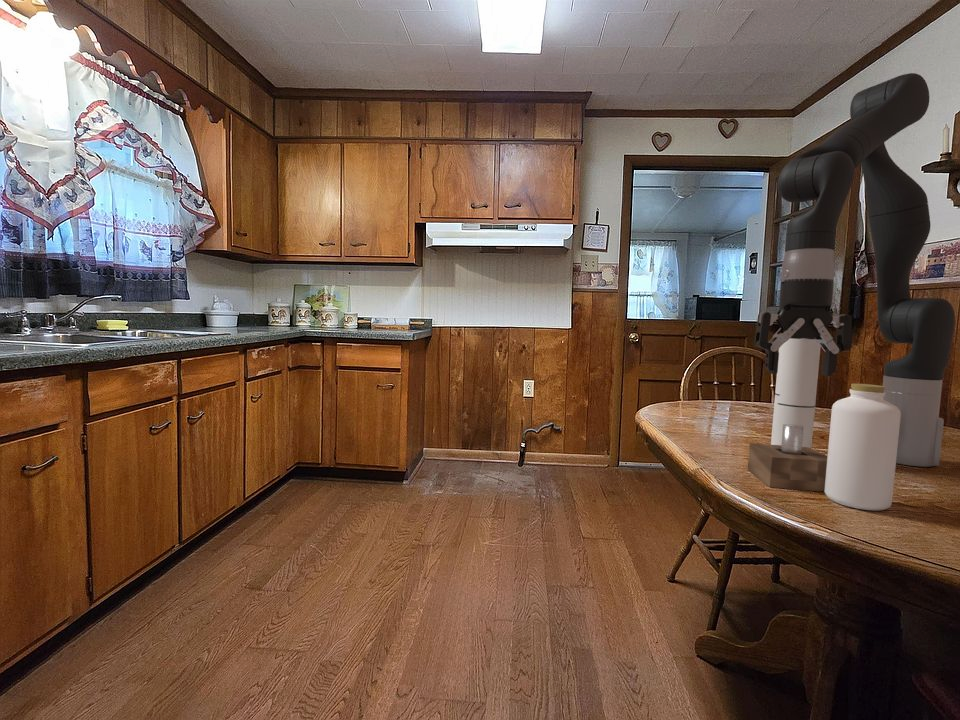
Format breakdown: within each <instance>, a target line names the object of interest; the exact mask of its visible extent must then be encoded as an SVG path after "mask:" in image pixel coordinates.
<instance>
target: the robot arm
mask: <svg viewBox="0 0 960 720" xmlns="http://www.w3.org/2000/svg"><path fill="white" fill-rule="evenodd" d="M929 105H930V91H929V87H928V84H927V82H926V80H925V78H924V77H923V76H922V75H921V74H918V73H913V72H909V73H904V74H901V75H898V76H895V77H893V78H890V79H888V80H885V81H883V82H879V83H878V84H876V85H875V84H874V85H872V86H870V87H867V88H865V89H862V90H860V91H858V92H857V93H855V94H854V96H853V97H852V99H851V102H850V108H849V115H850V116H849V117H850V121H849V122H847V123H845V124H844V125H842V126H840V127H839V128H837V129H836V130H835V131H834V132H833V133H831V134H830V135H829V136H828V137H827V138H826V139H824V141H823V142H821V143H820V144H819V145H817V146H815V147H812V148H810V149H809V150H807V151H804V152H803V153H801V154H799V155H797V156H796V157H794V158H792V159H791V160H789V161H788V163H786V164H785V165H784V167H783V168H782V169H781V171H780V174H779V176H778V179H777V191H778V193H779V196H780V197H781V198H782V199H783V200H785V201H786V202H788V203H793V204H795V203H796V204H799V203H806V202H811V201H816V202H815V204H814V205H813V207H812V208H811V209H809V210H808V211H806V212H803V213H801V214H799V215H795V216H793V217H792V218H791V219H789V220H788V222H787V225H786V231H785V232H786V233H785V247H784V256H783V260H782V263H781V264H782V265H781V274H780V275H781V276H780V288H779V290H780V291H779V303H778V306H779V307H778V311H777V313H772V312H771V313H770V312H767V311H764V312H763V311H762V312H759V313H758V315H757V320H756V327H755V334H754V342H753V344H754V346H755V347H756V348H760V349H762V350H764V351H765V359H764V360H765V362H764V368H765V370H766V371H767V373H768V374H771V375H777V372H778V360H779V348H780V347H781V346H782V345H783V344H784V343H785V342H787V341H788V340H789V339H790V338H792V339H802V338H803V339H815V341H816V342H817V343H819V345H820V346H821V347H820V348H821V349H822V350H823V351H824V353H822V360H821V370H820V375H822V376H823V377H832V376H833V374H835V373H836V370H837V361H838V354H839V353H842V352H844V351H850V350H851V349H852V339H853V338H852V337H853V336H852V335H853V334H852V333H853V331H852V330H853V316H852V314H845V313H844V314H843V313H842V314H837V315H833V314H832V311H831V309H832V304H833V292H834V282H835V280H834V279H835V275H836V272H835V268H836V262H835V261H836V260H835V258H836V257H835V245H836V236H837V235H836V233H837V227H838V226H837V225H838V222H839V219H840V217H841V213H842V211H843V207H844V205H845V203H846V199H847V197H848V195H849V193H850V190H851V188H852V184H853V182H854V178H855V170H856V168H857V167H858V166H861V170H862V175H863V182H864V189H865V196H866V198H865V199H866V205H867V206H866V207H867V208H866V209H867V216H868V223H869V231H870V237H871V242H872V246H873V247H872V248H873V255H874V263H875V273H876V297H877V299H876V301H877V302H876V303H877V304H876V305H877V307H876V308H877V309H876V310H877V322H878V328H879V331H880V333H881V335H882V337H883V338H884V339H885V340H886V341H888V342H890V343H895V344H907V345H910V344H911V349H910V351H909V352H908V353H907V354H906V355H905V356H903V357H900V358H897V359H893V360H890V361H887V362H886V363H885V365H884V370H883V379H882V380H883V381H882V386H884V387H885V389H884V392H886V394H885V396H884V400H885V401H887V402H889V403H891V404H893V405H895V406H896V407H898V409H899V410H900V413H901V418H900V427H899V437H898V447H897V457H896V464H898V465H905V466H911V467H912V466H913V467H940V459H941V450H942V443H943V442H942V441H943V433H944V432H943V431H944V423H945V422H944V421H945V420H944V418H942V417H940V410H941V409H940V408H941V400H942V399H941V398H942V388H943V379H944V373H945V371H946V369H947V366H948V365H949V360H950V355H951V349H952V344H953V339H954V333H955V326H956V314H955V310H954V307H953V305H952V304H951V302H950V301H948V300H947V299H945V298H943V297H941V298H939V297H918V298H917V297H915V298H912V297H911V289H910V277H911V271H912V268H913V266H914V263H915V262H916V259H917V258H918V256H919V254H920V253H921V251H922V250H923V248H924V246H925V244H926V242H927V239H928V237H929V235H930V232H931V220H930V219H931V217H930V209H929V201H928V196H927V193H926V192H925V190H924V189H923V187H922V186H920V184H919V183H917V182H916V181H915V179H914V178H912V177H911V176H910V175H909V174H907V173H906V172H905V171H904V170H903V169H901V167H900V166H899V165H898V164H897V163H896V162H894V160H893V159H892V157H891V156H890V154H889V151H888V149H887V147H886V144H885V143H886V142H887V141H888V140H889V139H891V138H892V137H894V136H896V135H897V134H898V133H899V132H902V130H905V129H907V128H908V127H909V126H911V125H913V124H915V123H917V122H919V121H920V120H921V119H923V117H924V115H925V114H927V111H928V109H929ZM774 322H776V324H778V326H779V327H780V328H779V329H778V330H777V331H776V332H775V333H774V334H773V335H772V338H771V339H770V340H769V341H768V339H769V335H770V334H769V332H770V326H773V324H774ZM831 324H832V325H833V327H834V328H835V341H834V338H833V336H832V335H831V334H830V332H829V330H828V329H827V328H828V327H829V326H831Z"/></svg>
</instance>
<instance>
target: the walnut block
mask: <svg viewBox="0 0 960 720" xmlns="http://www.w3.org/2000/svg"><path fill="white" fill-rule="evenodd" d="M748 445H749V447H748V460H747V471H748V472H749V473H751V474H752V475H753V476H754V475H755V476H754V477H756V478H757V479H758V480H760V481H761V482H763V484H765V485H766V486H768V487H769V488H776V489H777V488H779V489H790V490H799V491H800V490H801V491H802V490H803V491H813V492H814V491H815V492H825V480H826V468H827V457H828V455H825V454H823V453H822V452H819V451H817V450H815V449H813V448H812V447H811V448H809V447H802V452H801V455H791V454H783V453H781V445H771V444H768V443H767V444H766V443H765V444H763V443H753V442H749V444H748Z"/></svg>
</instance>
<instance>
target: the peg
mask: <svg viewBox="0 0 960 720" xmlns="http://www.w3.org/2000/svg"><path fill="white" fill-rule="evenodd" d="M803 428H804V427H803V426H799V425H792V424H783V432H782V445H781V453H783V454H791V455H801V452H802V440H803Z"/></svg>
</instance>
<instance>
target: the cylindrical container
mask: <svg viewBox="0 0 960 720" xmlns="http://www.w3.org/2000/svg"><path fill="white" fill-rule="evenodd" d="M821 348H822V347H821V346H820V345H819V343H817V342H816V341H815V339H803V338H802V339H792V338H790V339H789V340H788V341H787V342H785V343H784V344H783V345H782V346H781V347H780V348H779V349H778V353H779V360H778V372H777V374H776V378H775V379H776V381H775V391H774V403H773V415H772V426H771V436H770V437H771V439H770V445H782V432H783V424H792V425H799V426H803V427H804V428H803V440H802V447H809V448H811V449H812V447H813V446H812V445H813V433H814V432H813V431H814V422H815V413H816V412H815V411H816V402H817V401H816V400H817V391H818V378H819V367H820V357H821V356H820V355H821Z"/></svg>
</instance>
